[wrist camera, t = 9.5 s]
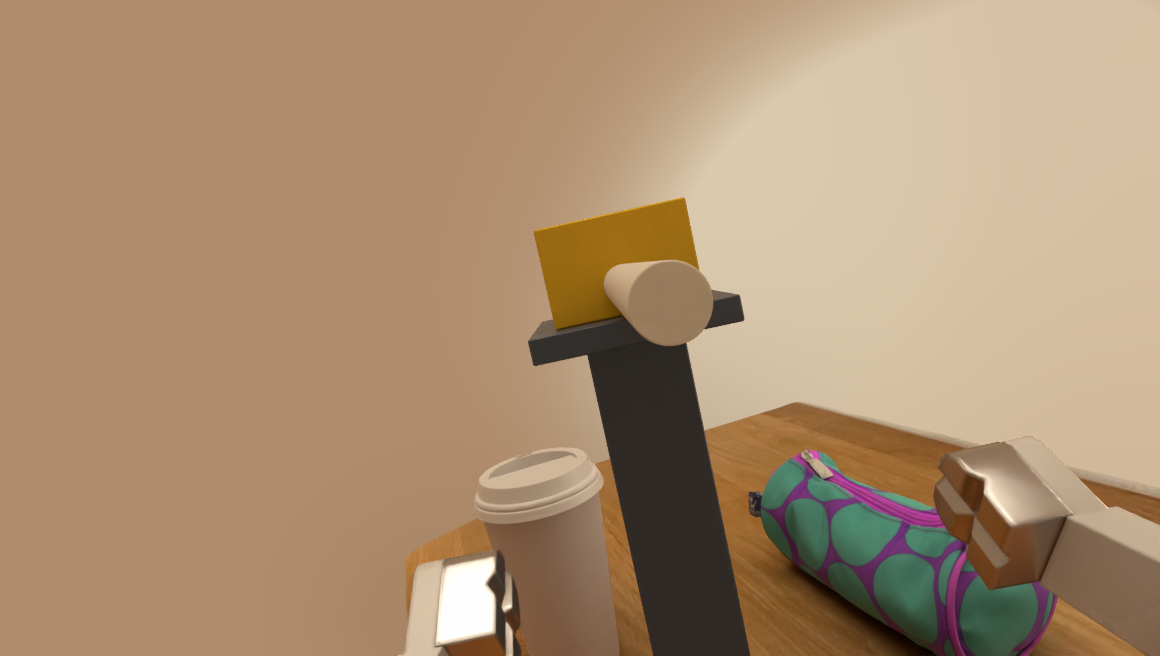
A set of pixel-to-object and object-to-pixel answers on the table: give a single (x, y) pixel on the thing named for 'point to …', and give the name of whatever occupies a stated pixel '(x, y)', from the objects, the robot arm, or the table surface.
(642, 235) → the sponge wand
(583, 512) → the coffee cup
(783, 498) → the pencil case
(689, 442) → the stand
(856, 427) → the table surface
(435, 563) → the robot arm
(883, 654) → the table surface
